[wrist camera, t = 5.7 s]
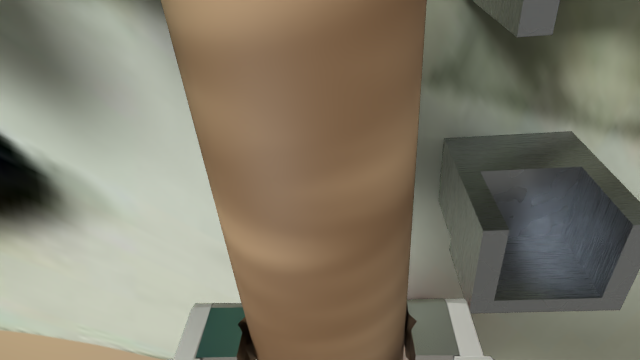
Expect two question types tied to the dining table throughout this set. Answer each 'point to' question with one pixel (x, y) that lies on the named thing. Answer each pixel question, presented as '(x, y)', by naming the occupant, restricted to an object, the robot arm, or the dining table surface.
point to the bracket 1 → (523, 15)
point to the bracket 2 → (537, 224)
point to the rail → (310, 162)
